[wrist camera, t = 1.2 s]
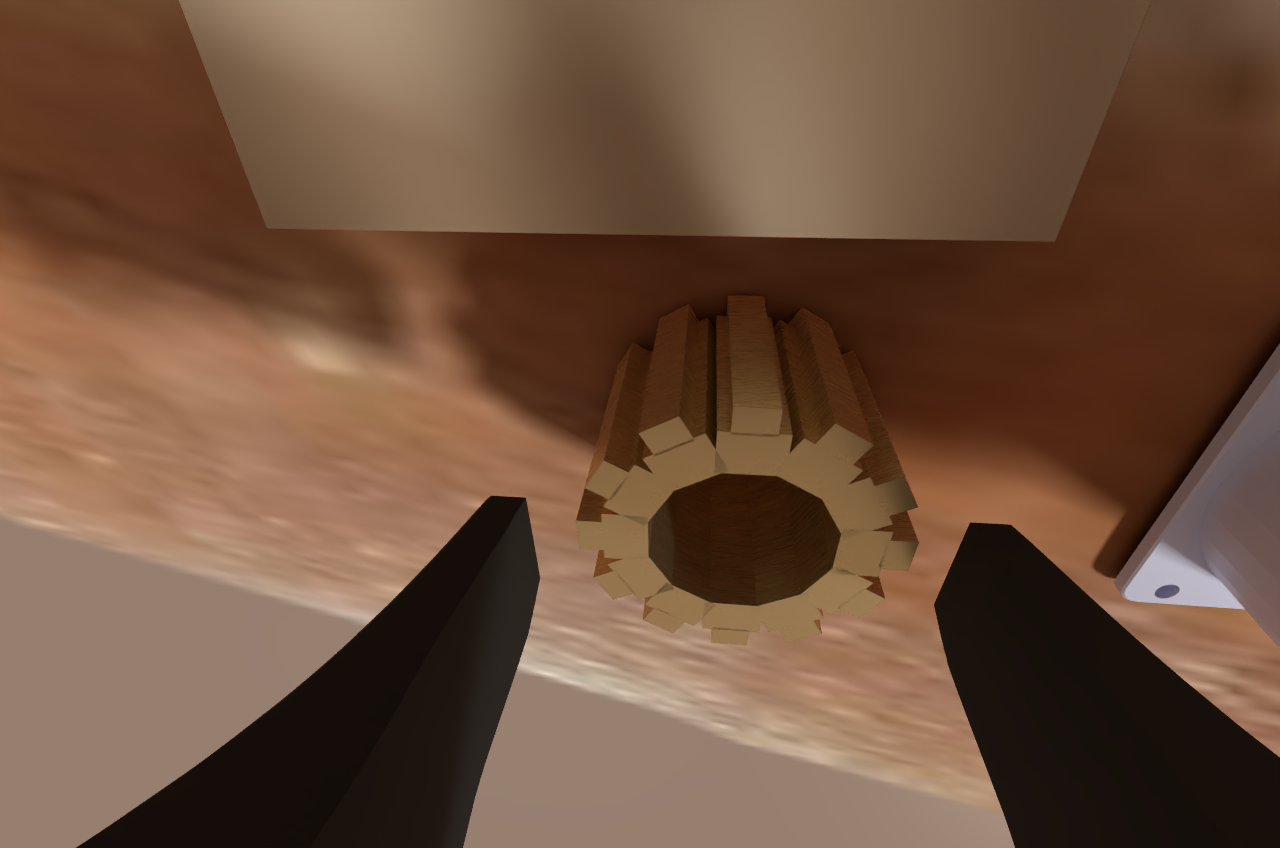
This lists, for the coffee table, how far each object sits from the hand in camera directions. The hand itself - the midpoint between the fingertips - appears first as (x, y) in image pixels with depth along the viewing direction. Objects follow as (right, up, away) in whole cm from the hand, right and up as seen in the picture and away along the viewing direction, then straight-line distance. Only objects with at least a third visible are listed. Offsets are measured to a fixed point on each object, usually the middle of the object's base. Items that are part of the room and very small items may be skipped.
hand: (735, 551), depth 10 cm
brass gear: (+1, +2, +3) cm, 4 cm away
